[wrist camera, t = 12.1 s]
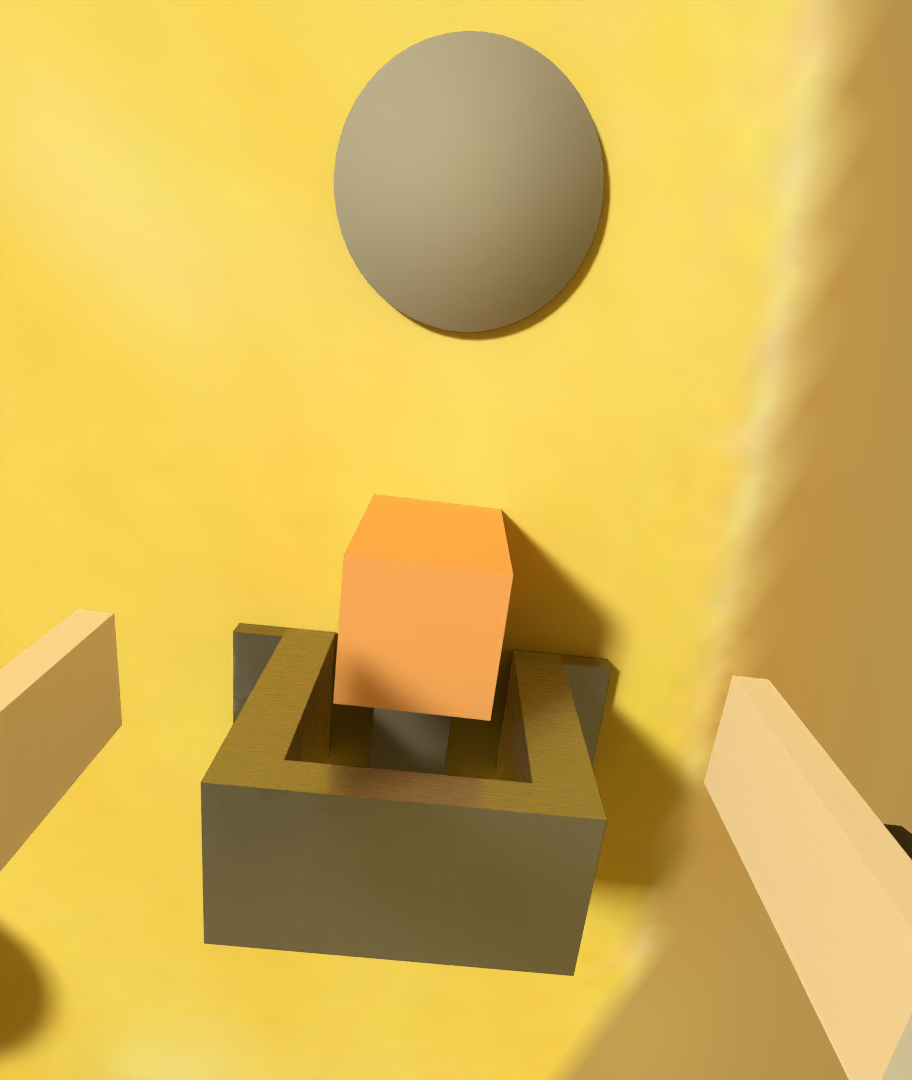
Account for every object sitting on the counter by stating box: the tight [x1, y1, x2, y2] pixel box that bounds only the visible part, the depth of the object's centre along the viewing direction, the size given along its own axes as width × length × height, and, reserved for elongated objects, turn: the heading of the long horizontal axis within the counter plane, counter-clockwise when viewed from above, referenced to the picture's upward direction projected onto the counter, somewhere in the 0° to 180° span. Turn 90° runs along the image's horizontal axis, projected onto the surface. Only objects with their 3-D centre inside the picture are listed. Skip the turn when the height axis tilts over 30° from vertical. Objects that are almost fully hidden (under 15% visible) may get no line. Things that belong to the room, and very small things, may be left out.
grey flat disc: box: [334, 31, 604, 332], centre depth 23 cm, size 9×9×1 cm
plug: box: [333, 494, 513, 775], centre depth 26 cm, size 5×18×7 cm, turn 173°
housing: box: [201, 623, 611, 976], centre depth 25 cm, size 16×6×10 cm, turn 84°
